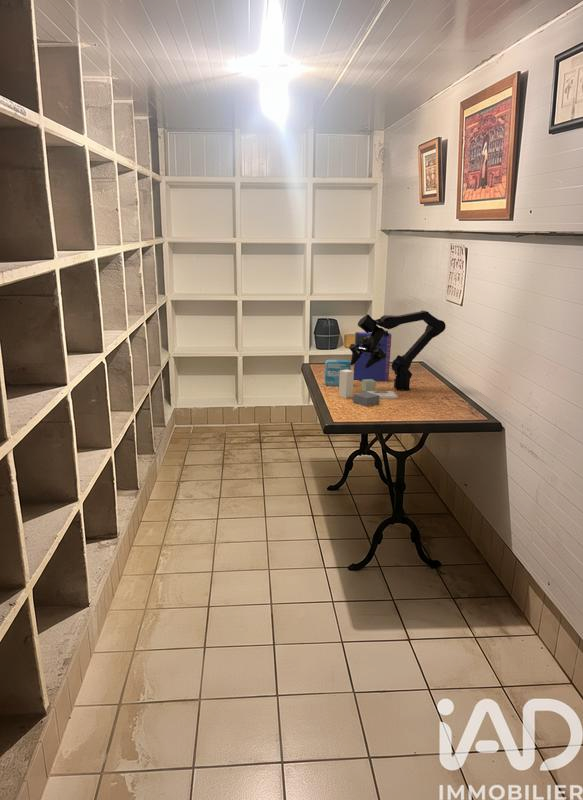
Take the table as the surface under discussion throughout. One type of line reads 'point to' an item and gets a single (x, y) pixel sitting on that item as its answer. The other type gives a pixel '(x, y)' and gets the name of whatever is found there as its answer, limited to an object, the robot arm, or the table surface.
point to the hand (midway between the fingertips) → (358, 366)
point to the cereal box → (376, 370)
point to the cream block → (346, 383)
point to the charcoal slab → (366, 398)
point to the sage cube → (368, 385)
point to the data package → (335, 371)
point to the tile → (384, 394)
